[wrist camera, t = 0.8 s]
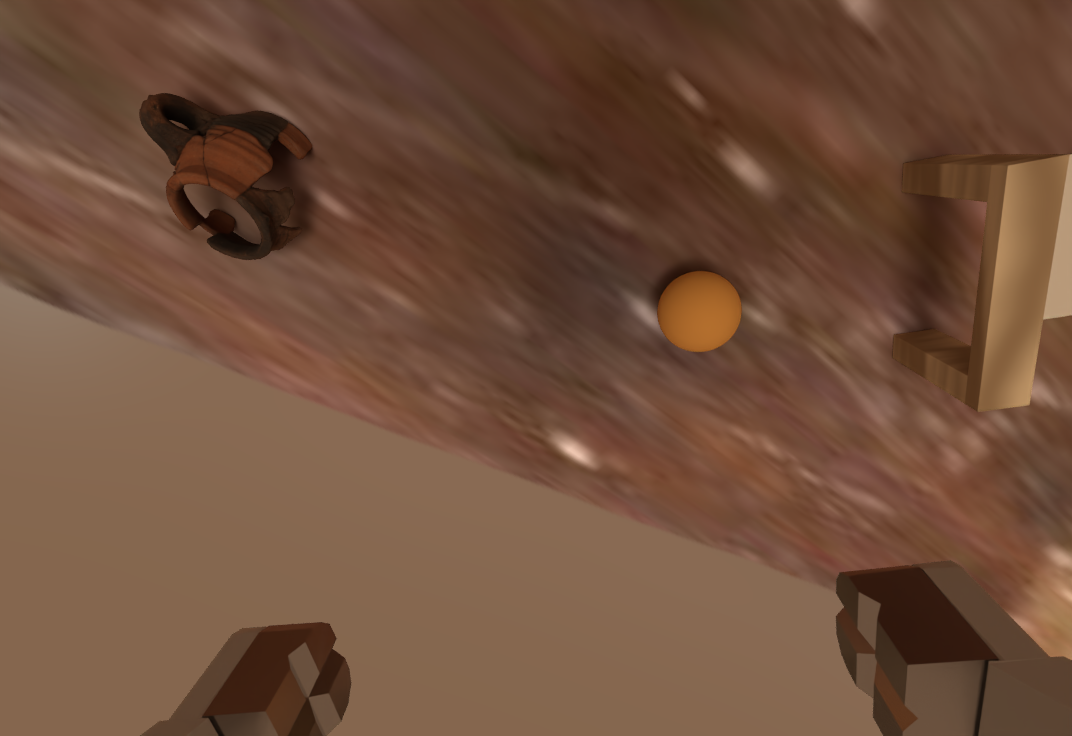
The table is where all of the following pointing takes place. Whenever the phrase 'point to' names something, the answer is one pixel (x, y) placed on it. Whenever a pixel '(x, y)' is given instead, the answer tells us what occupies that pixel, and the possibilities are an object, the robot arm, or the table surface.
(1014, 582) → the table surface
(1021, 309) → the bridge
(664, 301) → the ball
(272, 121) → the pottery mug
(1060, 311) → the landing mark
